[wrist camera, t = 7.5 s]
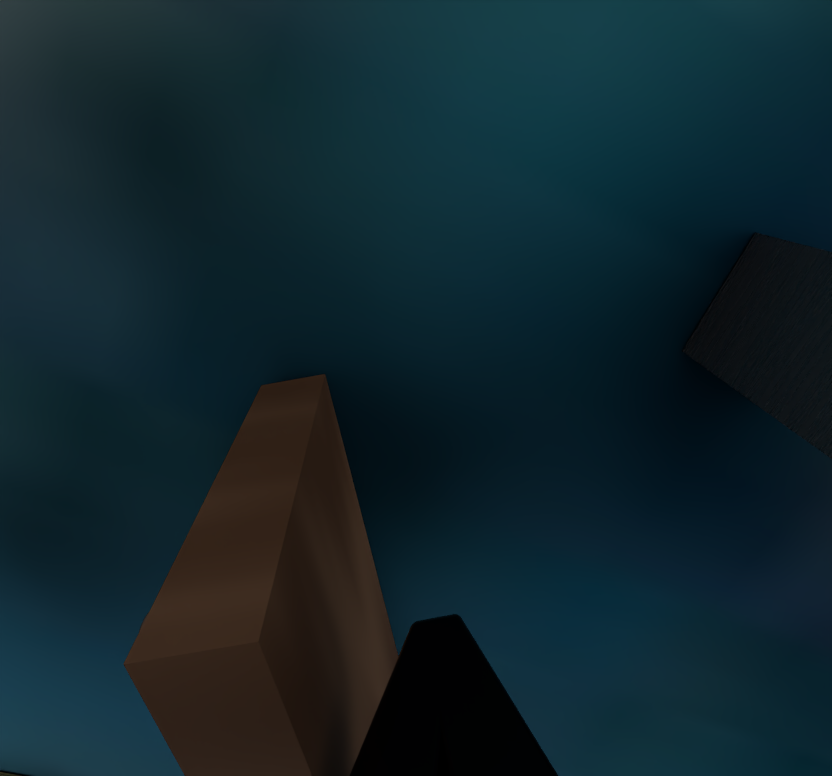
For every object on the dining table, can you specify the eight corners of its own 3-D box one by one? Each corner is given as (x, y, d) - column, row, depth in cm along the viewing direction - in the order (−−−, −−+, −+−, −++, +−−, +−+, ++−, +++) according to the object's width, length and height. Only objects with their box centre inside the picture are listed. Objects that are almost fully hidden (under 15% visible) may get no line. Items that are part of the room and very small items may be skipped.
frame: (419, 896, 18) (437, 1285, 12) (-24, 827, 16) (-291, 1280, 9) (859, 281, 10) (1554, 492, 4) (116, -66, 8) (-915, -845, 2)
